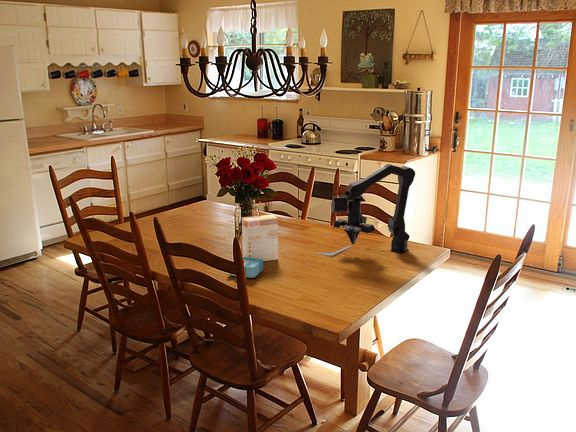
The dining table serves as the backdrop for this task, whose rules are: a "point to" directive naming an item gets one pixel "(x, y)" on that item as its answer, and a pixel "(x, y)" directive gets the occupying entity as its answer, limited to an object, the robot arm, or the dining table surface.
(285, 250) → the dining table surface
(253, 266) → the data package
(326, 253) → the grey boomerang
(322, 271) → the dining table surface
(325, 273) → the dining table surface
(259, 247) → the coffeecake box
